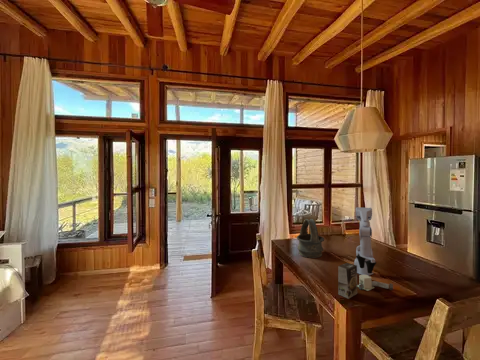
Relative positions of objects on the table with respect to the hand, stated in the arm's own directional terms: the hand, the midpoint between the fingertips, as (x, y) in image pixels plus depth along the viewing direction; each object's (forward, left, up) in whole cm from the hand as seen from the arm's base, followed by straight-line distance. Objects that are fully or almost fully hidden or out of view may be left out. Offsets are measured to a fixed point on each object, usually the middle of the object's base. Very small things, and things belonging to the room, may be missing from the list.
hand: (365, 270), depth 142 cm
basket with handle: (-59, +18, -10) cm, 62 cm away
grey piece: (+5, +2, -10) cm, 11 cm away
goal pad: (0, -1, -10) cm, 10 cm away
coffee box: (-1, -16, -10) cm, 19 cm away
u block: (0, 0, -10) cm, 10 cm away
